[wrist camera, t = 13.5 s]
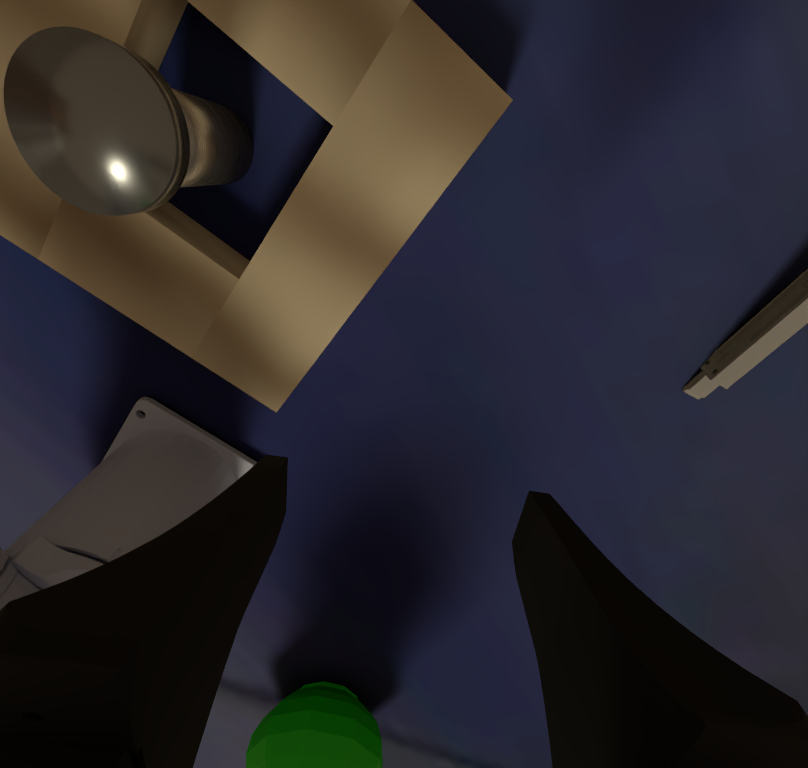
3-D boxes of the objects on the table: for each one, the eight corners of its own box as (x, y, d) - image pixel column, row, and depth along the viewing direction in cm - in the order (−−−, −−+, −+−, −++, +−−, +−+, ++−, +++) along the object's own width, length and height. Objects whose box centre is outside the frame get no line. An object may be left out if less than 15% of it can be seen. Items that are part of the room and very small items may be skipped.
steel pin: (237, 219, 20) (133, 247, 13) (150, 154, 19) (-17, 144, 12) (286, 135, 18) (200, 111, 11) (194, 59, 17) (34, -21, 10)
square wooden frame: (290, 389, 23) (276, 412, 21) (-20, 183, 20) (-77, 185, 17) (500, 108, 18) (512, 99, 15) (122, -261, 14) (64, -345, 12)
